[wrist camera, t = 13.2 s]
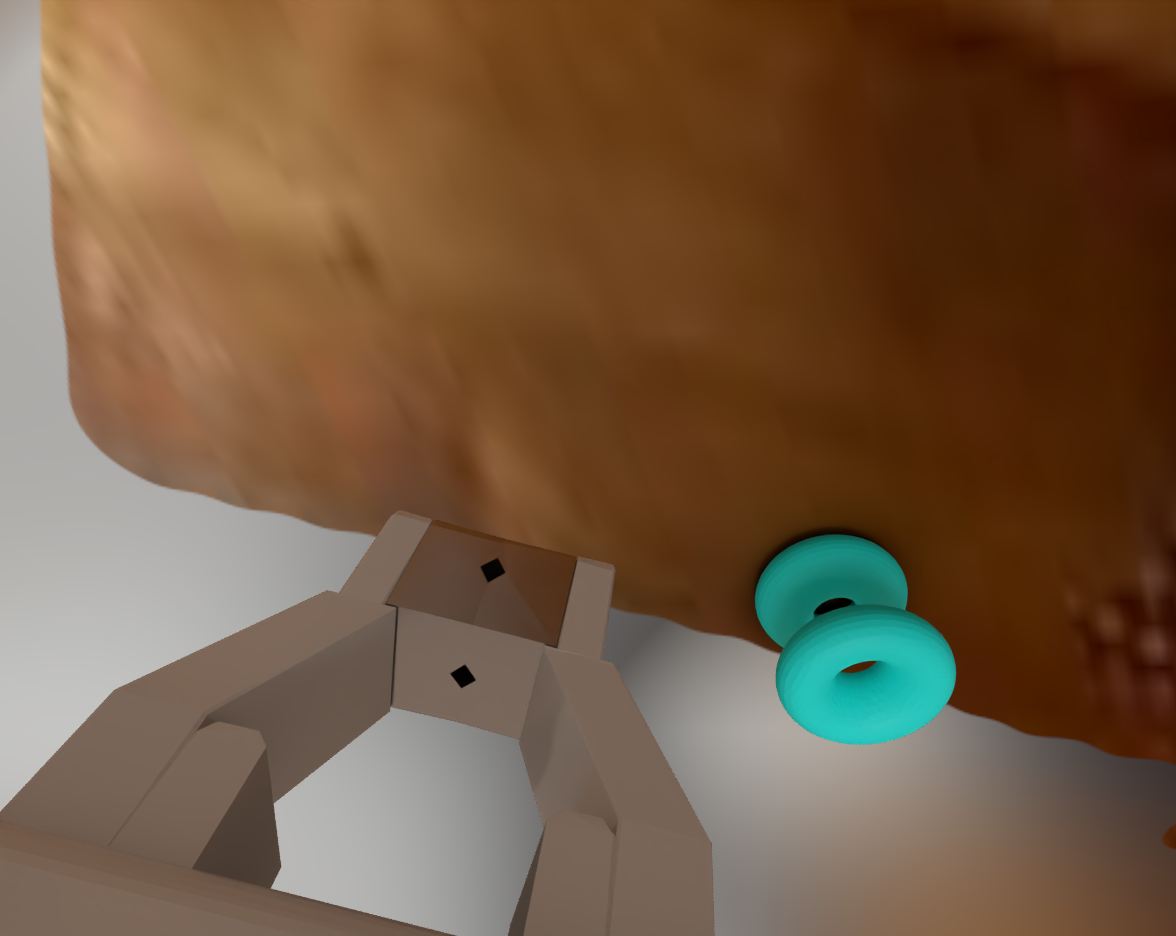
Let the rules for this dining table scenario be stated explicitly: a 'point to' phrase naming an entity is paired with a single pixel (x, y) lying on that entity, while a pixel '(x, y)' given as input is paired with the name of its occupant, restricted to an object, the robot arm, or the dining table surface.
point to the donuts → (851, 642)
